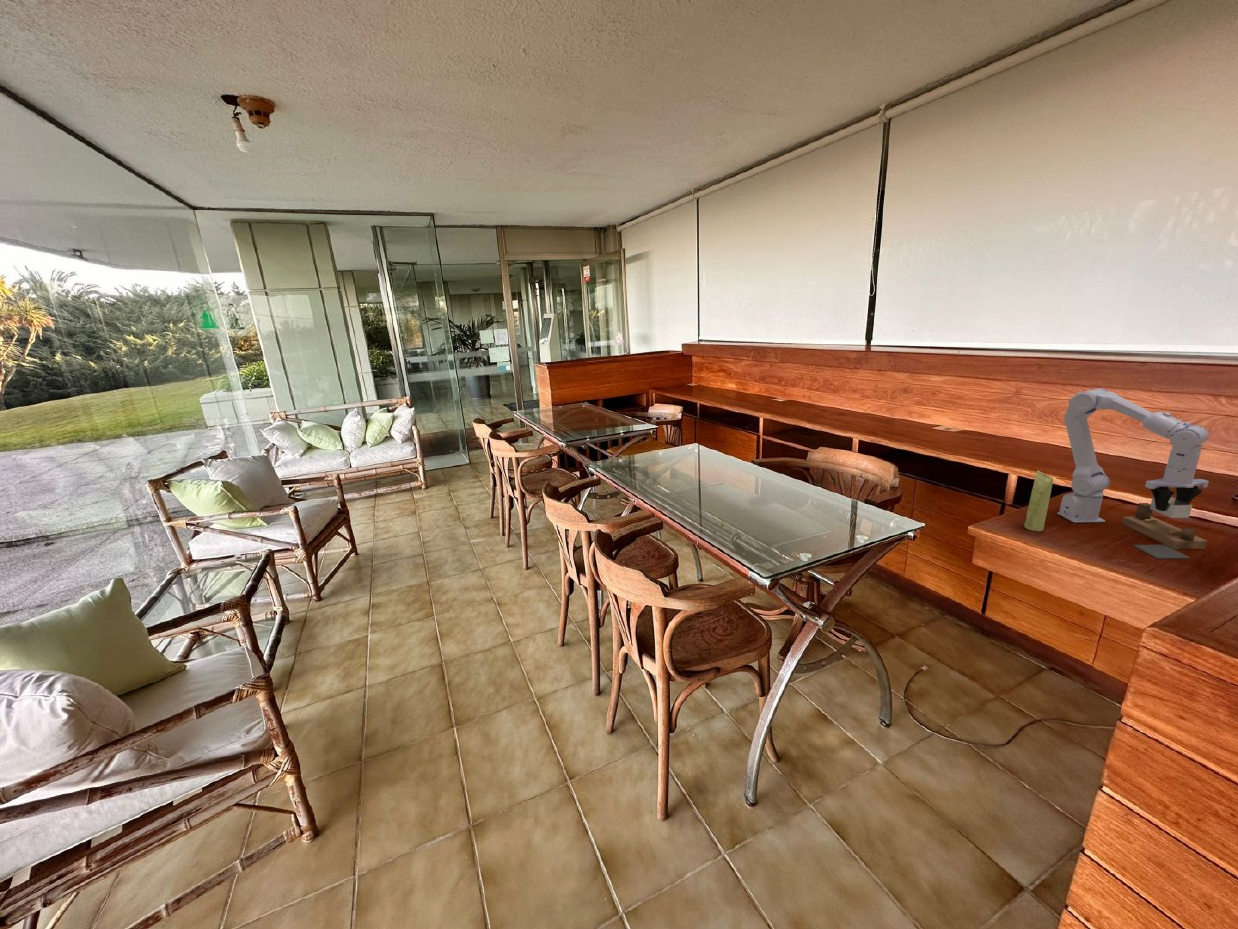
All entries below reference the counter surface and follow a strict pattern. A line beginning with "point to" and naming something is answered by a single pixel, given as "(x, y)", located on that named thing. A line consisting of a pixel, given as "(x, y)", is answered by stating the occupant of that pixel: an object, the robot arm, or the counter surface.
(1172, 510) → the lever cap
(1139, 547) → the rubber mat
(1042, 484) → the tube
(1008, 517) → the counter surface
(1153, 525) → the plane body
